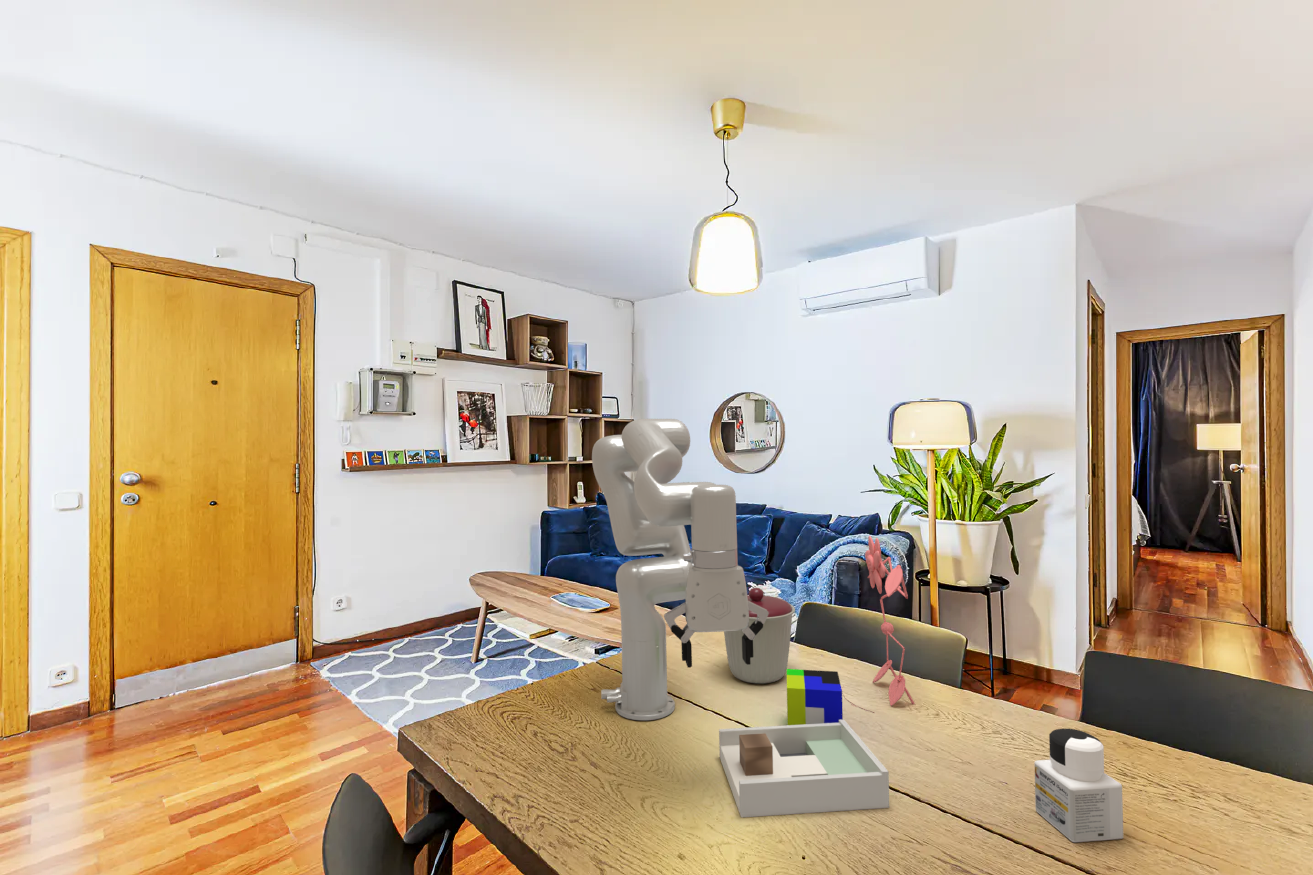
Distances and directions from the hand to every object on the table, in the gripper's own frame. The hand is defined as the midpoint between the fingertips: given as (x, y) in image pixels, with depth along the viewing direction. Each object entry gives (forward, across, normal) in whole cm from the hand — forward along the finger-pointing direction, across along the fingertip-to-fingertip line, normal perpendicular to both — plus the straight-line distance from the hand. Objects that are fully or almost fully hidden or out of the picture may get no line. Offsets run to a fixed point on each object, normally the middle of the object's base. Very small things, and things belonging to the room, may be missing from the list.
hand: (717, 663), depth 103 cm
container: (+21, +50, -16) cm, 56 cm away
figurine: (+20, +40, +32) cm, 55 cm away
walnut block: (+17, +6, 0) cm, 18 cm away
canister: (+19, +17, +46) cm, 53 cm away
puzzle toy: (+20, +21, +17) cm, 34 cm away
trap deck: (+20, +13, 0) cm, 24 cm away
